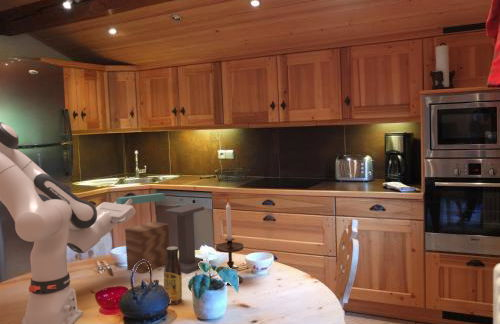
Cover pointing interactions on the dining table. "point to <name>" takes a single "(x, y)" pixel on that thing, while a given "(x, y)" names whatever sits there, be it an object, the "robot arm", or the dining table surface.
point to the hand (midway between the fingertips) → (127, 199)
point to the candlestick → (230, 241)
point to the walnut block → (147, 245)
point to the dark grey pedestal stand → (186, 236)
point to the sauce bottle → (173, 276)
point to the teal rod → (142, 198)
